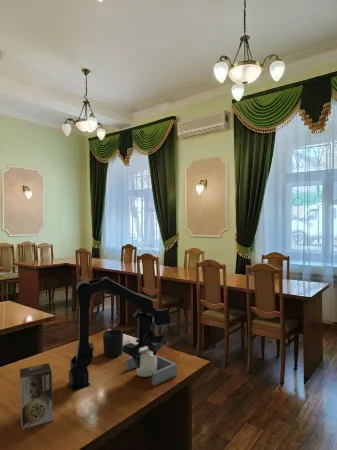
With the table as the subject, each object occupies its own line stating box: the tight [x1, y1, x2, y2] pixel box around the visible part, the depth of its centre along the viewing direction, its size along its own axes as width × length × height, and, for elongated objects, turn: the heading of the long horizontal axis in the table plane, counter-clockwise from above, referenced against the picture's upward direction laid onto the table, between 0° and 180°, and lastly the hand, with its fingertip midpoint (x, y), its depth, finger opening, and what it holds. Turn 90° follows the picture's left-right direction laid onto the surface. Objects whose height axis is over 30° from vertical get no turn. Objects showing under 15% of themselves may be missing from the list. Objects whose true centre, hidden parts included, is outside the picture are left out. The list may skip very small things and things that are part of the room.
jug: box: [136, 347, 158, 378], centre depth 131 cm, size 10×7×9 cm
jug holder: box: [125, 354, 178, 386], centre depth 134 cm, size 12×18×4 cm, turn 43°
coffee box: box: [19, 363, 54, 430], centre depth 102 cm, size 9×6×16 cm
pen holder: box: [102, 329, 124, 358], centre depth 153 cm, size 9×9×10 cm
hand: (145, 365), depth 132 cm, fingers closed on jug, 7 cm apart
